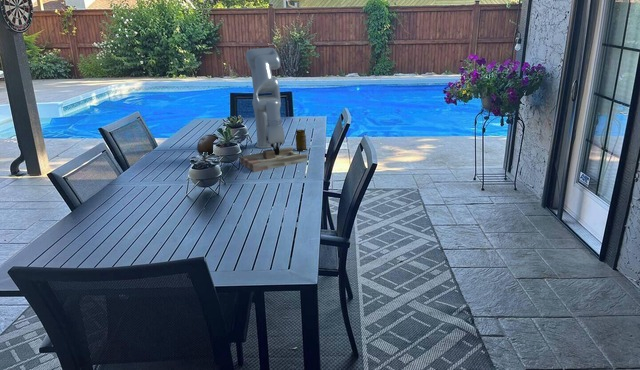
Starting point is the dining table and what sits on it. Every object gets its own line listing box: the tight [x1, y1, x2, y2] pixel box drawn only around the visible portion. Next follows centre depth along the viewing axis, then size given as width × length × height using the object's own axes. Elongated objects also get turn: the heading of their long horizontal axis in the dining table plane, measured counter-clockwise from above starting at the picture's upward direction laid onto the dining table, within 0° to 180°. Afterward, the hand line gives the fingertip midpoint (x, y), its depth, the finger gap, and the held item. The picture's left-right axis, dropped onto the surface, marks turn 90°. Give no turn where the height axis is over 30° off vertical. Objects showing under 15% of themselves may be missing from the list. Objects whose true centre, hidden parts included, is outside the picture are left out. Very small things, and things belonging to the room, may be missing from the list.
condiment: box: [293, 129, 307, 153], centre depth 291 cm, size 7×8×12 cm
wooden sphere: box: [196, 134, 220, 156], centre depth 279 cm, size 15×15×15 cm
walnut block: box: [262, 149, 275, 159], centre depth 272 cm, size 5×5×4 cm
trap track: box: [239, 146, 308, 173], centre depth 269 cm, size 20×32×4 cm, turn 119°
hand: (276, 154), depth 274 cm, fingers closed
